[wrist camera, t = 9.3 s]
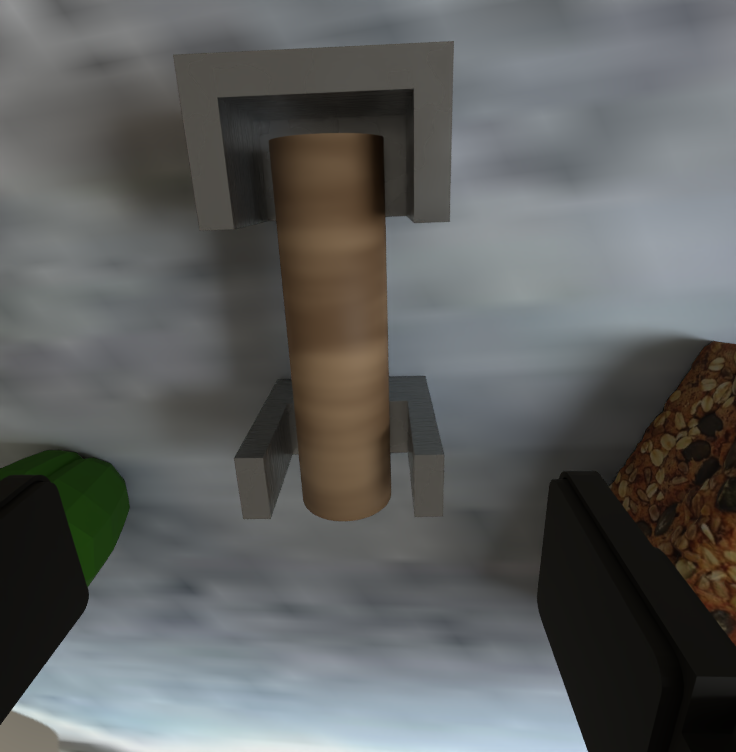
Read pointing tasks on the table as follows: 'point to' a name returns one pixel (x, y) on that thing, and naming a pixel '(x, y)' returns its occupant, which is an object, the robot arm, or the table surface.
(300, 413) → the brown cylinder
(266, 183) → the box
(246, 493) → the saddle bracket
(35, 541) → the robot arm
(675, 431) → the bread
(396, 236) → the table surface
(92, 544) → the bell pepper
